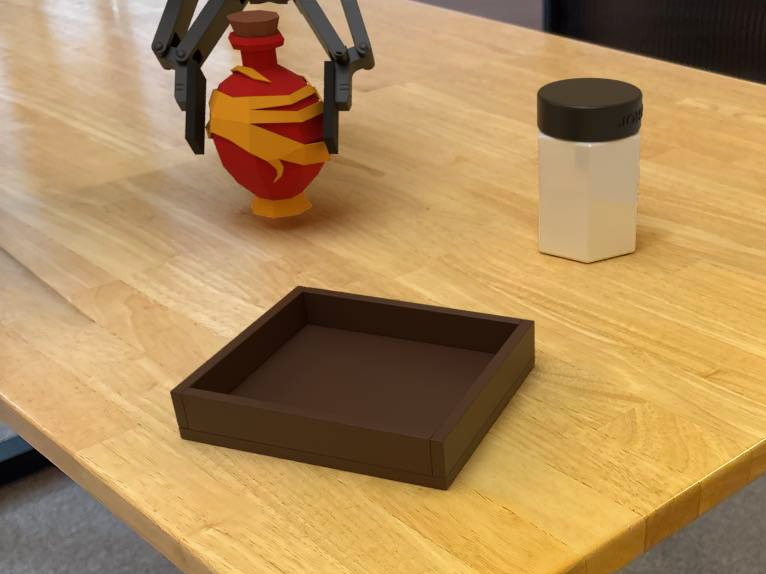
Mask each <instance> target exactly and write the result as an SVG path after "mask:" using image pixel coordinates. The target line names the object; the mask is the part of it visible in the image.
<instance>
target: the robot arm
mask: <svg viewBox="0 0 766 574" xmlns="http://www.w3.org/2000/svg"><path fill="white" fill-rule="evenodd" d="M199 1H200V0H167V1H166V3H165V6H164V9H163V12H162V15H161V17H160V19H159V23H158V25H157V27H156V31H155V34H154V37H153V39H152V42H151V44H150V45H151V46H150V49H151V51H152V53H153V55H154V56H155V57H156V59H157V62H158V63H159V64H160V66H161V68H162V69H163V70H165V71H171V70H173V71H174V88H173V89H174V92H173V97H174V99H175V102H176V104H177V106H178V107H179V109H180V110H181V112H185V119H184V120H185V121H184V123H185V124H184V140H185V142H187V145H188V146H189V147H190V149H191V151H192V152H193V155H195V156H199V155H200V156H205V147H206V146H205V145H206V144H205V143H206V129H205V126H206V115H207V114H206V113H207V112H206V110H207V82H208V81H207V78H206V76H205V74H204V71H203V70H202V67H203V65H204V64H205V62H206V61H207V59H208V58H209V57H210V55H211V53H212V52H213V51H214V49H215V48H216V46H217V44H218V43H219V41H220V40H221V39H222V37H223V35H224V34H225V33H226V31H227V30H228V28H229V27H230V26H231V24H230V22H229V20H228V18H227V15H230V14H233V13H236V12H239V11H245V10H244V9H245V8H246V7H247V6H248V4H249V5H262V4H266V3H272V4H276V5H289V2H290V1H291V0H207V1H206V3H205V5H204V6H203V8H202V9H201V10H200V12H199V13H198V15H197V16H196V18H195V19H194V21H193V22H192V20H193V18H194V15H195V12H196V9H197V6H198V3H199ZM339 1H340V4H341V7H342V11H343V13H344V16H345V19H346V23H347V26H348V30H349V32H350V36H351V39H352V42H353V45H354V46H350V47H348V46H347V45H346V44H344V42H343V41H342V39H341V38H340V36H339V34H338V33H337V31H336V30H335V28H334V26H333V25H332V23H331V22H330V20H329V18H328V17H327V15H326V13H325V12H324V10H323V8H322V7H321V6H320V4H319V2H318V1H317V0H292V2H293V4H294V5H295V7H296V8H297V10H298V12H299V13H300V14H301V15H302V17H303V18H304V20H305V22H307V25H308V26H309V28H310V29H311V31H312V32H313V34H314V36H315V37H316V39H317V40H318V42H319V44H320V45H321V47H322V49H323V51H325V54H326V55H327V57H328V58H329V60H324V61H323V102H324V109H323V139H324V142H325V144H326V147H327V150H328V153H329V154H331V155H339V142H340V141H339V140H340V139H339V135H340V134H339V132H340V131H339V129H340V112H350V111H351V108H352V106H353V77H354V74H355V73H356V72H358V71H360V70H365V71H371V70H373V69H374V68H375V65H376V61H375V56H374V52H373V47H372V44H371V41H370V38H369V34H368V32H367V31H368V30H367V27H366V25H365V22H364V19H363V16H362V12H361V9H360V6H359V4H358V0H339ZM191 22H192V24H191Z"/></svg>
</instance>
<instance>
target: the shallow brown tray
mask: <svg viewBox="0 0 766 574" xmlns="http://www.w3.org/2000/svg"><path fill="white" fill-rule="evenodd" d="M535 323H536V322H535V320H533V319H527V318H521V317H520V318H519V317H512V316H507V315H499V314H494V313H486V312H479V311H474V310H473V311H472V310H466V309H460V308H453V307H446V306H441V305H439V306H438V305H432V304H428V303H427V304H425V303H420V302H419V303H418V302H412V301H406V300H399V299H392V298H387V297H379V296H373V295H366V294H359V293H352V292H347V291H346V292H345V291H338V290H332V289H325V288H319V287H312V286H304V285H297V286H295V287H294V288H293V289H292V290H290V291H289V292H288V293H287V294H285V295H284V296H283V297H282V298H281V299H280V300H279V301H277V302H276V303H275V304H273V305H272V306H271V307H270V308H269V309H268V310H266V311H265V312H264V313H263V314H262V315H260V316H259V317H257V319H255V320H254V321H253V322H252V323H250V324H249V325H248V326H247V327H245V328H244V329H243V330H242V331H241V332H240V333H239V334H237V336H235V337H234V338H233V339H231V340H230V341H229V342H227V344H225V345H224V346H223V347H221V348H220V349H219V350H218V351H217V352H216V353H214V354H213V355H212V356H211V357H210V358H208V360H206V361H205V362H203V363H202V364H201V365H200V366H199V367H197V368H196V369H195V370H194V371H193V372H192V373H190V374H189V375H188V376H186V377H185V379H183V380H182V381H181V382H179V383H178V384H177V385H176V386H174V387H173V388H172V389H171V390H170V391H169V395H170V398H171V403H172V406H173V410H174V415H175V419H176V422H177V427H178V431H179V435H180V438H181V439H184V440H190V441H194V442H199V443H203V444H210V445H213V446H218V447H219V446H220V447H224V448H229V449H235V450H239V451H245V452H250V453H255V454H261V455H265V456H270V457H276V458H280V459H286V460H291V461H295V462H296V461H297V462H300V463H305V464H311V465H316V466H321V467H327V468H332V469H336V470H341V471H346V472H352V473H356V474H362V475H367V476H372V477H377V478H382V479H387V480H393V481H397V482H402V483H408V484H413V485H418V486H422V487H423V486H424V487H428V488H434V489H439V490H442V491H443V490H445V491H447V490H448V488H449V487H450V486H451V484H452V483H453V481H454V480H455V479H456V477H457V475H458V474H459V473H460V472H461V470H462V468H463V467H464V466H465V464H466V463H467V461H469V459H470V457H471V456H472V454H473V453H474V451H475V450H476V449H477V447H478V446H479V444H481V442H482V440H483V439H484V437H485V436H486V435H487V433H488V432H489V431H490V429H491V428H492V426H493V425H494V423H495V422H496V421H497V419H498V418H499V416H500V415H501V414H502V412H503V411H504V409H505V408H506V407H507V406H508V404H509V402H510V401H511V399H512V398H513V397H514V395H515V394H516V392H517V391H518V389H519V388H520V387H521V385H522V384H523V383H524V381H525V380H526V378H527V377H528V375H529V374H530V372H531V371H532V369H534V367H535V365H536V340H535V339H536V329H535V328H536V325H535Z"/></svg>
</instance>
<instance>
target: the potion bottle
mask: <svg viewBox="0 0 766 574" xmlns="http://www.w3.org/2000/svg"><path fill="white" fill-rule="evenodd" d="M227 18H228V20H229V22H230V26H231V29H232V31H229V34H228V37H227V40H228V41H229V43H230V46H231V47H232V50H234V51H240V59H241V64H242V65H236V66H234V67H232V68H231V69H230V72H231V74H229V76H227V77H226V78H224V80H222V81H221V82H220V83H218V86H217V88H212V90H211V94H210V95H209V96H210V97H209V99H208V102H207V103H208V109H209V119H208V121H207V122H206V123H205V133H206V136H207V139H208V140H212V141H213V144H214V146H215V150H216V153H217V154H218V155H217V156H218V157H219V160H220V163H221V165H222V167H223V169H224V170H226V172H227V173H228V174H229V175H230V176H231V177H232V179H233V180H234V181H236V182H237V184H239V185H240V186H241V187H243V188H244V189H245V190H247V191H249V192H250V193H251V194H253V195H254V197H253V199H252V201H251V203H250V205H249V206H250V208H251V211H252V214H253V215H258V216H262V217H268V218H272V219H274V218H276V219H277V218H282V217H283V218H284V217H291V216H298V215H300V214H302V213H304V212H306V211H307V210H309V209H311V208H312V207H313V206H312V204H311V201H310V200H309V198H308V196H306V194H305V193H304V191H305V190H306V189H307V187H309V185H310V184H311V183H312V182H313V181H314V180H315V179H316V178H317V176H318V175H319V174H320V172H321V170H322V168H323V167H324V165H325V163H326V162H327V163H328V162H331V159H332V158H331V157H332V154H329V153H328V150H327V147H326V144H325V142H324V139H323V109H324V99H323V98H322V96H321V94H320V93H319V91H318V88H317V87H316V86H312V84H311V82H310V81H309V80H308V79H307V78H306V76H305V75H302V74H298V73H296V72H294V71H292V70H290V69H288V68H287V67H284V66H283V65H282V64H280V63H279V62H278V56H277V49H278V48H280V47H283V46H284V44H285V37H284V35H283V34H282V32H281V31H280V29H279V23H280V22H279V21H280V15H279V14H278V12H277V11H273V10H264V9H254V10H253V9H251V10H243V11H239V12H236V13H233V14H230V15H227Z"/></svg>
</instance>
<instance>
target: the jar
mask: <svg viewBox="0 0 766 574" xmlns="http://www.w3.org/2000/svg"><path fill="white" fill-rule="evenodd" d="M643 96H644V95H643V91H642V89H640V87H638V86H637V85H634V84H633V83H630V82H626V81H624V80H620V79H619V80H618V79H614V78H613V79H612V78H603V77H575V78H564V79H560V80H555V81H552V82H549V83H546V84H544V85H543V86H541V87H540V88H538V90H537V92H536V126H537V129H538V133H537V149H538V150H537V156H538V157H537V160H538V164H537V165H538V166H537V169H538V171H537V173H538V174H537V175H538V177H537V178H538V179H537V180H538V251H539V252H540V253H542V254H546V255H551V256H555V257H560V258H564V259H567V260H572V261H576V262H581V263H584V264H585V263H586V264H589V263H590V264H591V263H595V262H598V261H603V260H607V259H610V258H615V257H619V256H623V255H627V254H633V253H634V252H635V251H636V242H637V241H636V240H637V222H638V203H639V196H640V192H639V191H640V184H641V183H640V181H641V180H640V179H641V166H640V165H641V164H640V162H641V161H640V160H641V144H642V136H641V131H640V129H641V128H642V118H643V116H644V115H643V114H644V113H643V112H644V103H643Z"/></svg>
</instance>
